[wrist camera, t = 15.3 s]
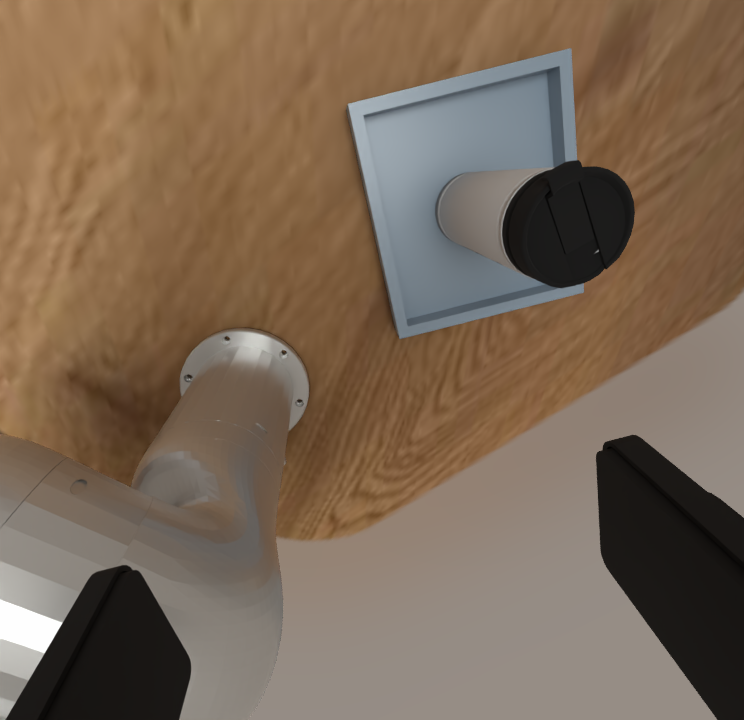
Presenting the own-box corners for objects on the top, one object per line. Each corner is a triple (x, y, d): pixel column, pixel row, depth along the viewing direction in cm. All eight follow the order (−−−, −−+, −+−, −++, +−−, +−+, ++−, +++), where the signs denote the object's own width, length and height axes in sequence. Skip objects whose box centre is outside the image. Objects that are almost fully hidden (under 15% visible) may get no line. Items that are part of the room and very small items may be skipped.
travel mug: (484, 154, 40) (624, 132, 21) (511, 223, 42) (658, 256, 24) (421, 190, 40) (503, 199, 22) (451, 256, 43) (548, 314, 24)
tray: (568, 285, 46) (583, 292, 43) (395, 329, 46) (399, 339, 43) (553, 57, 38) (571, 48, 36) (346, 109, 38) (347, 104, 36)
